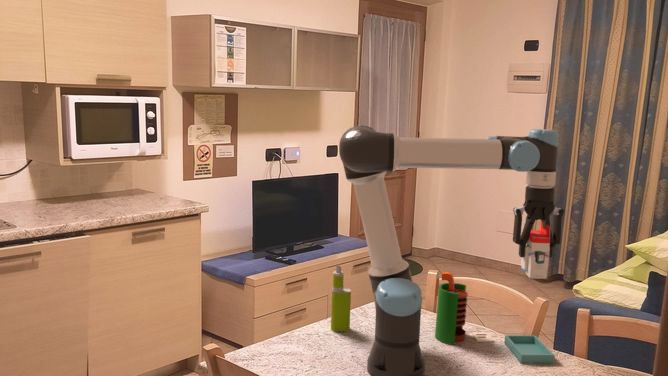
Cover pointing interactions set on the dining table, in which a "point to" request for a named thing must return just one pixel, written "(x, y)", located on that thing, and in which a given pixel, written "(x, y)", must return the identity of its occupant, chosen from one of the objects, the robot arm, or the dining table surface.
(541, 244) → the ink box
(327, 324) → the dining table surface
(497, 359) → the dining table surface
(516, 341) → the tray
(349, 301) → the vape
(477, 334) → the label card
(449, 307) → the motor
